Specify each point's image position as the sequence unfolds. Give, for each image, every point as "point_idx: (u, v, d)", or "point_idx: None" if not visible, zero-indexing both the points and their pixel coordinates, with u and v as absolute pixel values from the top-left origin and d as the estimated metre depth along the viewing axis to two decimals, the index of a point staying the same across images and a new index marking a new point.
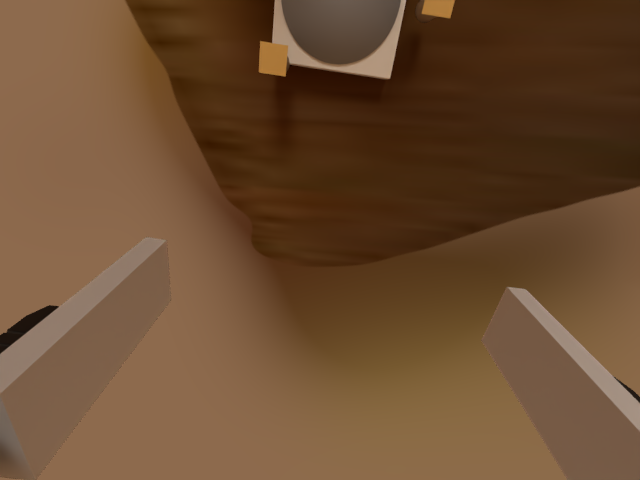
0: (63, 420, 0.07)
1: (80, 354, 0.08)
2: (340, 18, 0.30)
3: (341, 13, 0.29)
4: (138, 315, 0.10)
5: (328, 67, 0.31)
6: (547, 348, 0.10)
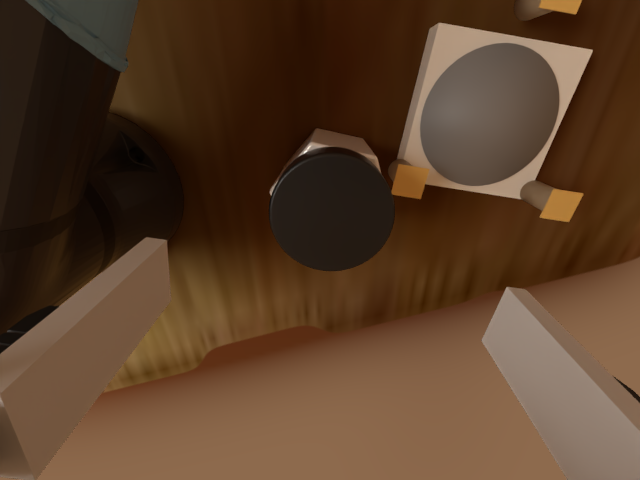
0: (63, 420, 0.07)
1: (80, 354, 0.08)
2: (507, 120, 0.26)
3: (505, 119, 0.26)
4: (138, 315, 0.10)
5: (553, 135, 0.27)
6: (547, 348, 0.10)
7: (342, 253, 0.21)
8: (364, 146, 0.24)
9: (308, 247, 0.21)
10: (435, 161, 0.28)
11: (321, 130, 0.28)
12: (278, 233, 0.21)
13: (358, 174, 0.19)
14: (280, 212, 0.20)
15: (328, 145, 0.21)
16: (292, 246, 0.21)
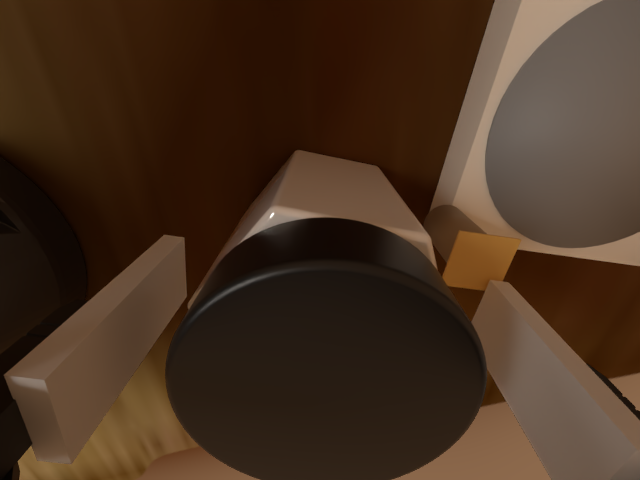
0: (95, 407, 0.08)
1: (110, 345, 0.08)
2: None
3: None
4: (158, 309, 0.11)
5: None
6: (525, 337, 0.10)
7: (352, 463, 0.09)
8: (389, 194, 0.12)
9: (272, 454, 0.09)
10: (509, 209, 0.15)
11: (305, 154, 0.16)
12: (196, 431, 0.08)
13: (399, 313, 0.07)
14: (194, 393, 0.08)
15: (315, 211, 0.09)
16: (234, 452, 0.09)
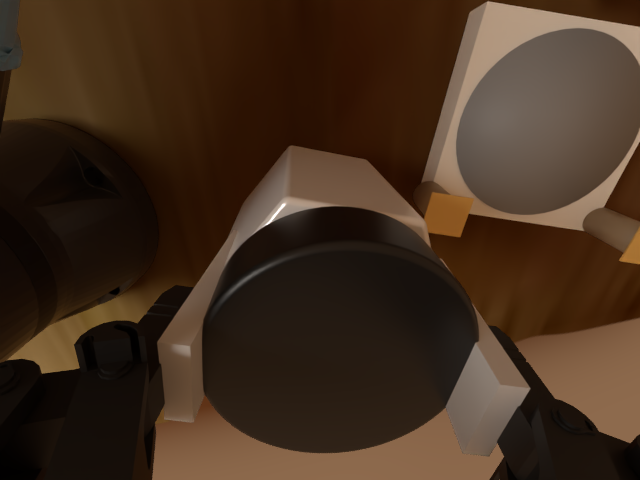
0: None
1: None
2: (572, 132, 0.20)
3: (570, 130, 0.20)
4: None
5: (632, 150, 0.20)
6: None
7: (363, 426, 0.10)
8: (383, 185, 0.13)
9: (291, 422, 0.10)
10: (475, 184, 0.21)
11: (299, 150, 0.17)
12: (222, 405, 0.09)
13: (406, 286, 0.08)
14: (223, 369, 0.09)
15: (324, 201, 0.10)
16: (256, 423, 0.10)
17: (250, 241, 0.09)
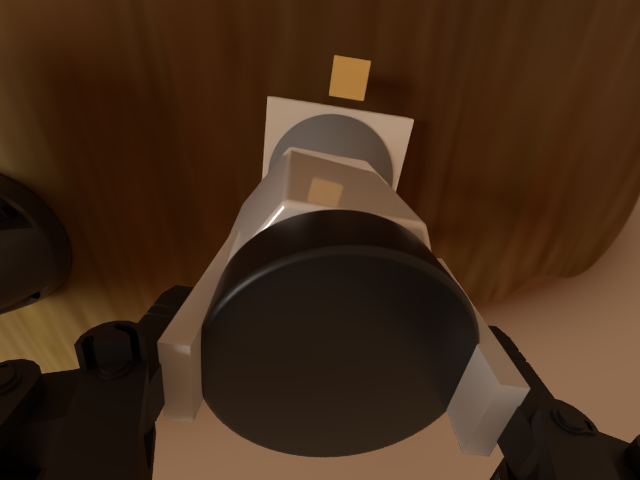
0: None
1: None
2: None
3: None
4: None
5: None
6: None
7: (363, 430, 0.10)
8: (383, 187, 0.13)
9: (290, 426, 0.10)
10: None
11: (299, 151, 0.17)
12: (221, 410, 0.09)
13: (406, 290, 0.08)
14: (222, 373, 0.09)
15: (323, 204, 0.10)
16: (255, 428, 0.10)
17: (249, 244, 0.09)
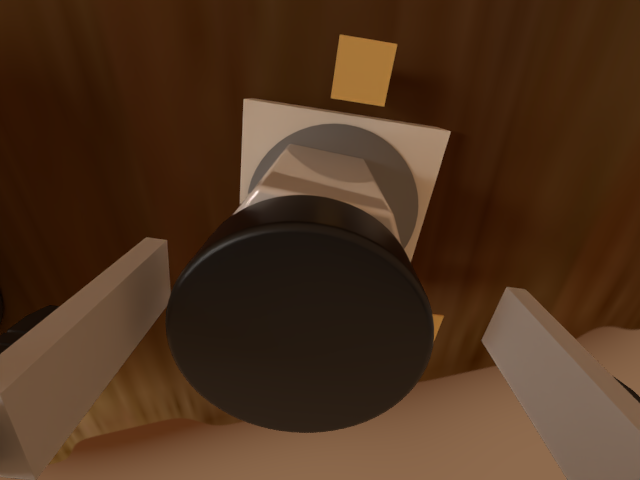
0: (63, 419, 0.07)
1: (80, 354, 0.08)
2: None
3: None
4: (138, 315, 0.10)
5: (418, 229, 0.21)
6: (547, 348, 0.10)
7: (325, 407, 0.11)
8: (366, 181, 0.14)
9: (255, 397, 0.10)
10: None
11: (296, 148, 0.17)
12: (191, 375, 0.10)
13: (355, 268, 0.08)
14: (189, 339, 0.09)
15: (294, 190, 0.10)
16: (223, 395, 0.10)
17: (222, 224, 0.10)
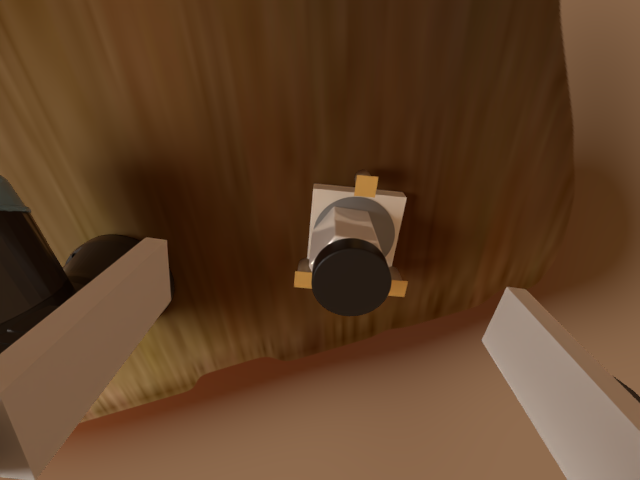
0: (63, 420, 0.07)
1: (80, 354, 0.08)
2: None
3: None
4: (138, 315, 0.10)
5: (396, 241, 0.43)
6: (547, 348, 0.10)
7: (359, 305, 0.33)
8: (369, 227, 0.36)
9: (337, 302, 0.33)
10: None
11: (338, 209, 0.40)
12: (317, 295, 0.32)
13: (367, 259, 0.30)
14: (319, 283, 0.32)
15: (346, 236, 0.33)
16: (326, 302, 0.33)
17: (325, 248, 0.32)
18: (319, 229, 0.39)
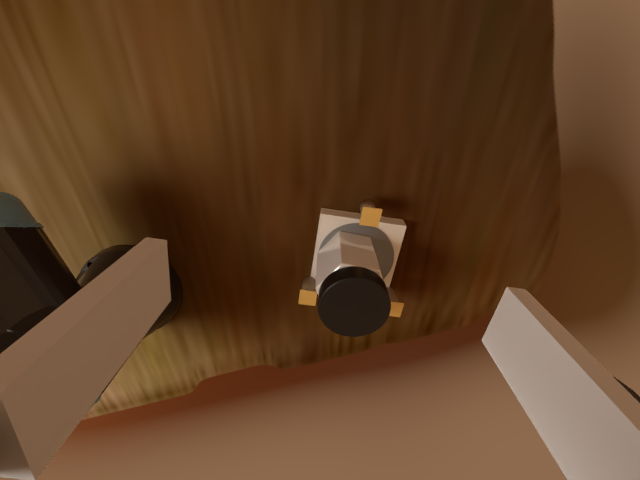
0: (63, 419, 0.07)
1: (80, 354, 0.08)
2: None
3: None
4: (138, 315, 0.10)
5: (394, 265, 0.46)
6: (547, 348, 0.10)
7: (360, 327, 0.36)
8: (372, 254, 0.39)
9: (340, 324, 0.36)
10: None
11: (342, 234, 0.43)
12: (323, 317, 0.35)
13: (370, 288, 0.34)
14: (324, 306, 0.35)
15: (351, 264, 0.36)
16: (330, 323, 0.36)
17: (332, 274, 0.35)
18: (325, 252, 0.42)
